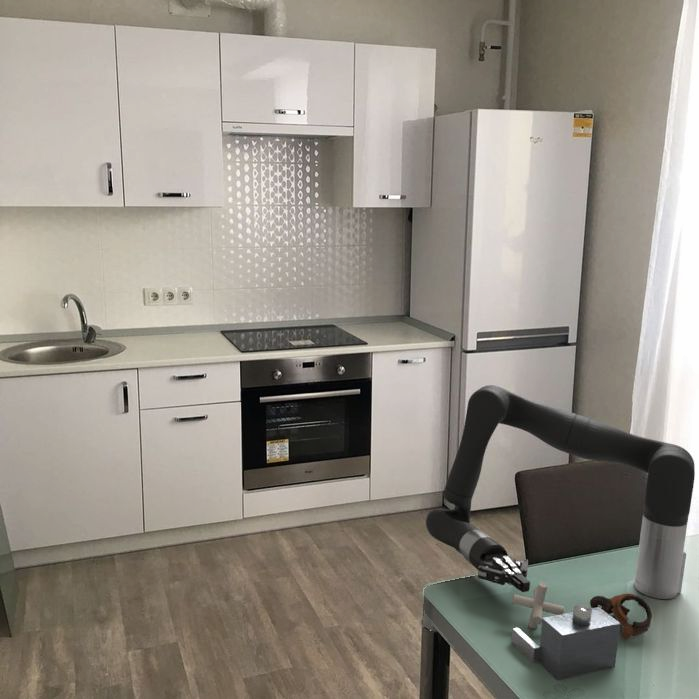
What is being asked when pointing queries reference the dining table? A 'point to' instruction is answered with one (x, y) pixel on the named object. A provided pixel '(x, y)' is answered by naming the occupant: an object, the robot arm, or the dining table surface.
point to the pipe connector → (538, 605)
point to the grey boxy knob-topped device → (573, 642)
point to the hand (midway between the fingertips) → (526, 587)
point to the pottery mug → (624, 612)
